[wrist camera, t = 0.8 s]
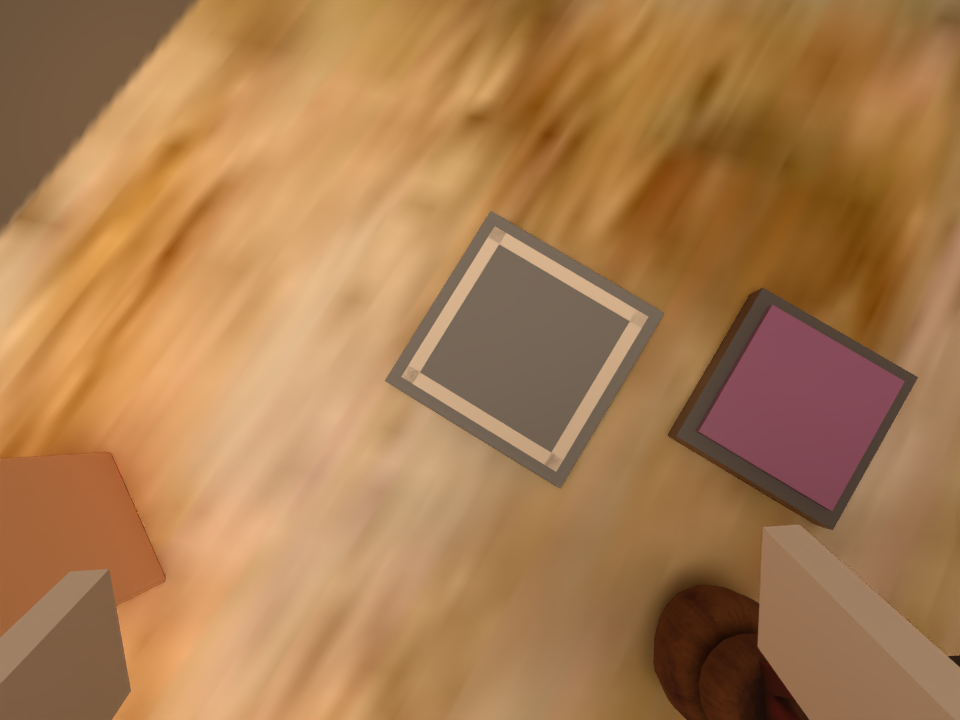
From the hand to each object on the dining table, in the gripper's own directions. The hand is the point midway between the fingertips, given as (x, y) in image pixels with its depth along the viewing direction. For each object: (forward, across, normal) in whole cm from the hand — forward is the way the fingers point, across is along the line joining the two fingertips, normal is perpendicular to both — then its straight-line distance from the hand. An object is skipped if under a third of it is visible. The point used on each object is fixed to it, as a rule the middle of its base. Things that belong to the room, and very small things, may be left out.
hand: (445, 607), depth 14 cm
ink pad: (+26, -20, +5) cm, 33 cm away
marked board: (+28, -5, +1) cm, 29 cm away
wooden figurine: (+23, -14, +17) cm, 31 cm away
